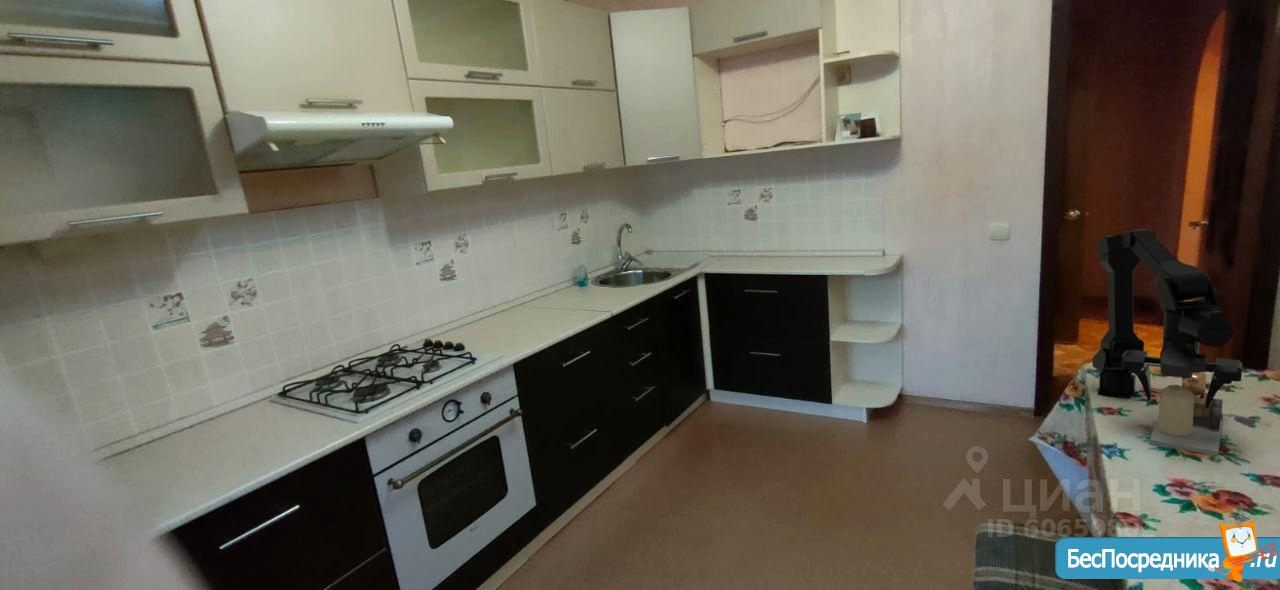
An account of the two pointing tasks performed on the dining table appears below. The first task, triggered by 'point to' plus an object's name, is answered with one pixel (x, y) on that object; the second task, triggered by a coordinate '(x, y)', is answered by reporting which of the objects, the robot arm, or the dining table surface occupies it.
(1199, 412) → the trolley
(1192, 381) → the stop pin
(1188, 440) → the ramp board
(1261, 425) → the dining table surface
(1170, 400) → the candle
